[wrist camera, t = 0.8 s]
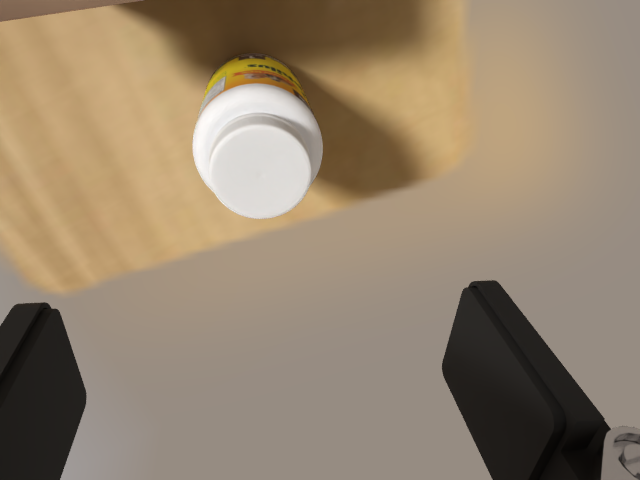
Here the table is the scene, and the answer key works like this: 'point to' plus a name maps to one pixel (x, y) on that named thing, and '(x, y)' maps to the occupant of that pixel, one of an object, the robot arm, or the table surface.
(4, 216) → the table surface
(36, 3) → the footstool
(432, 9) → the table surface
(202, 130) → the supplement bottle
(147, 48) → the table surface
